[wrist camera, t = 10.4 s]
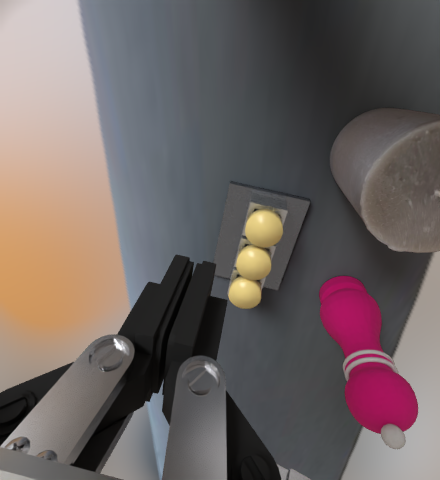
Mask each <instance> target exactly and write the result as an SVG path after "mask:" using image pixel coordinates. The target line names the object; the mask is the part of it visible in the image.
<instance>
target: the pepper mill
mask: <svg viewBox="0 0 440 480" xmlns="http://www.w3.org/2000/svg"><path fill="white" fill-rule="evenodd" d="M319 297H320V301H321V308H320V317H321V320H322V323H323V326H324V327H325V329H326V331H327V332H328V333H329V335H330V336H331V337H332V338H333V339H334V340H335V341H336V342H337V343H338V344H339V345H340V346H341V348H342V350H343V352H344V355H345V361H344V363H343V371H344V373H345V378H346V380H347V384H346V386H345V399H346V402H347V405H348V408H349V410H350V412H351V413H352V415H353V416H354V418H355V419H356V420H357V421H358V422H359V423H360V424H361V425H362V426H364V427H365V428H367V429H369V430H371V431H373V432H376V433H380V434H381V437H382V439H383V441H384V442H385V444H386V445H388V446H389V447H391V448H393V449H400V448H402V447H403V446H404V445H405V435H404V433H403V432H404V431H406V430H407V429H409V428H410V427H411V426H412V425H413V423H414V422H415V421H416V418H417V415H418V404H417V399H416V396H415V393H414V391H413V390H412V388H411V386H410V384H409V383H408V382H407V381H406V380H405V379H404V378H403V377H401V376H400V375H399V374H398V370H397V368H396V367H395V364H394V361H393V360H392V358H391V357H390V356H389V355H387V354H385V353H384V352H383V350H382V348H381V345H380V340H379V339H380V331H381V325H382V320H381V312H380V309H379V306H378V304H377V302H376V301H375V300H374V299H373V298H372V297H371V296H370V295H369V294H368V293H367V291H366V289H365V287H364V285H363V284H362V283H361V282H360V281H359V280H358V279H356V278H353V277H349V276H338V277H334V278H332V279H330V280H328V281H327V282H325V283H324V284H323V286H322V287H321V289H320V292H319Z"/></svg>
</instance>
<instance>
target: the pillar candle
mask: <svg viewBox="0 0 440 480" xmlns="http://www.w3.org/2000/svg"><path fill="white" fill-rule="evenodd" d="M330 168H331V172H332V174H333V177H334V179H335V181H336V182H337V184H338V186H339V187H340V188H341V190H342V192H343V193H344V194H345V196H346V197H347V199H348V200H349V201H350V203H351V204H352V206H353V207H354V209H355V210H356V211H357V213H358V214H359V216H360V217H361V218H362V220H363V221H364V223H365V225H366V227H367V229H368V230H369V231H370V232H371V233H372V235H374V236H375V237H376V238H377V239H378V240H379V241H380V242H382V243H384V244H386V245H387V246H388V248H390V249H392V250H393V251H398V252H403V251H406V252H415V253H421V252H422V253H425V252H437V251H440V115H439V114H432V113H425V112H419V111H413V110H406V109H398V108H378V109H374V110H370V111H367V112H364V113H362V114H361V115H359V116H357V117H356V118H354V119H353V120H352V121H350V122H349V123H348V124H347V125H346V126H345V127H344V128H343V129H342V130H341V132H340V133H339V134H338V136H337V137H336V139H335V141H334V143H333V146H332V149H331V153H330Z"/></svg>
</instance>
